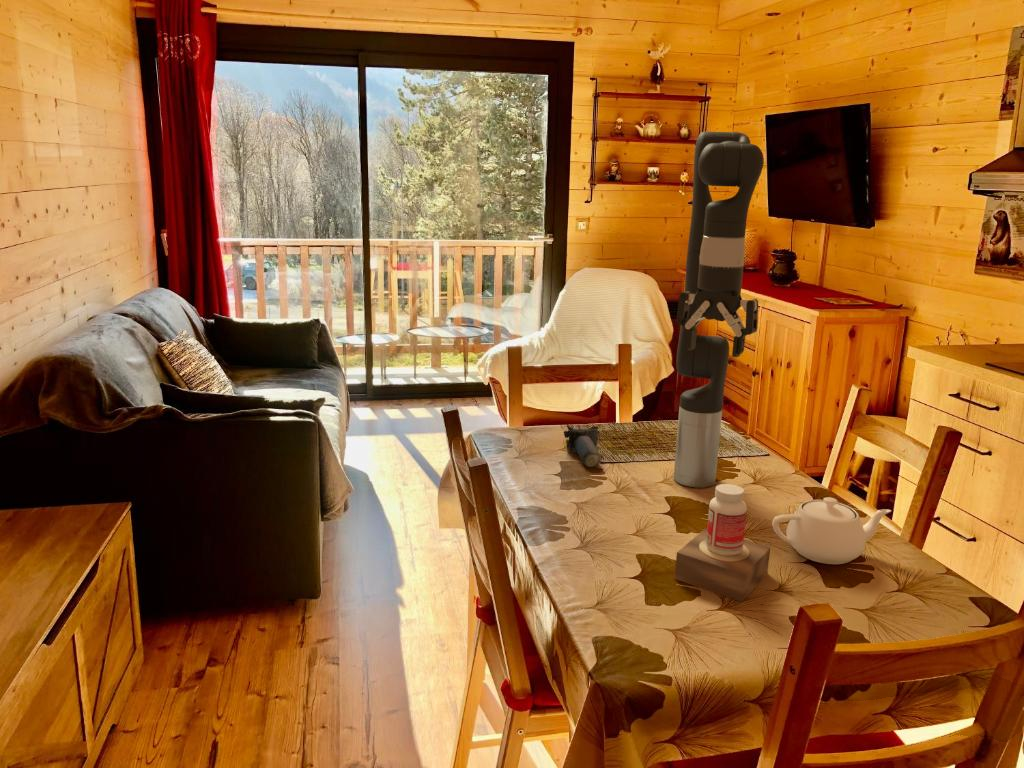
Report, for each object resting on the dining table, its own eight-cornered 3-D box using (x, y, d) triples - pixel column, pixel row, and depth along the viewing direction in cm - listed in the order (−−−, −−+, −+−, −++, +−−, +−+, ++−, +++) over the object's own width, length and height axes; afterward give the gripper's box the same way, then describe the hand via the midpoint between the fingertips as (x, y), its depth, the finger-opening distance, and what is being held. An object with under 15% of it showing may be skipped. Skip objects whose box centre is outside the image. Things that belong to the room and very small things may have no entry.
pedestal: (703, 553, 148) (705, 527, 146) (767, 573, 141) (770, 546, 140) (674, 578, 139) (676, 551, 137) (742, 601, 132) (745, 573, 130)
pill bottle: (750, 551, 138) (756, 491, 135) (725, 560, 134) (731, 499, 131) (722, 537, 143) (728, 479, 140) (697, 545, 139) (703, 486, 136)
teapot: (783, 571, 142) (790, 515, 139) (755, 536, 155) (761, 484, 152) (903, 570, 144) (913, 514, 141) (866, 535, 157) (874, 484, 154)
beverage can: (566, 456, 199) (579, 477, 188) (562, 428, 196) (575, 447, 185) (601, 448, 200) (616, 468, 189) (597, 420, 198) (613, 438, 186)
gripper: (769, 264, 140) (759, 355, 144) (692, 257, 148) (685, 343, 152) (753, 268, 134) (743, 363, 138) (674, 260, 142) (667, 350, 146)
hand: (713, 352), depth 145 cm, fingers open, 8 cm apart
